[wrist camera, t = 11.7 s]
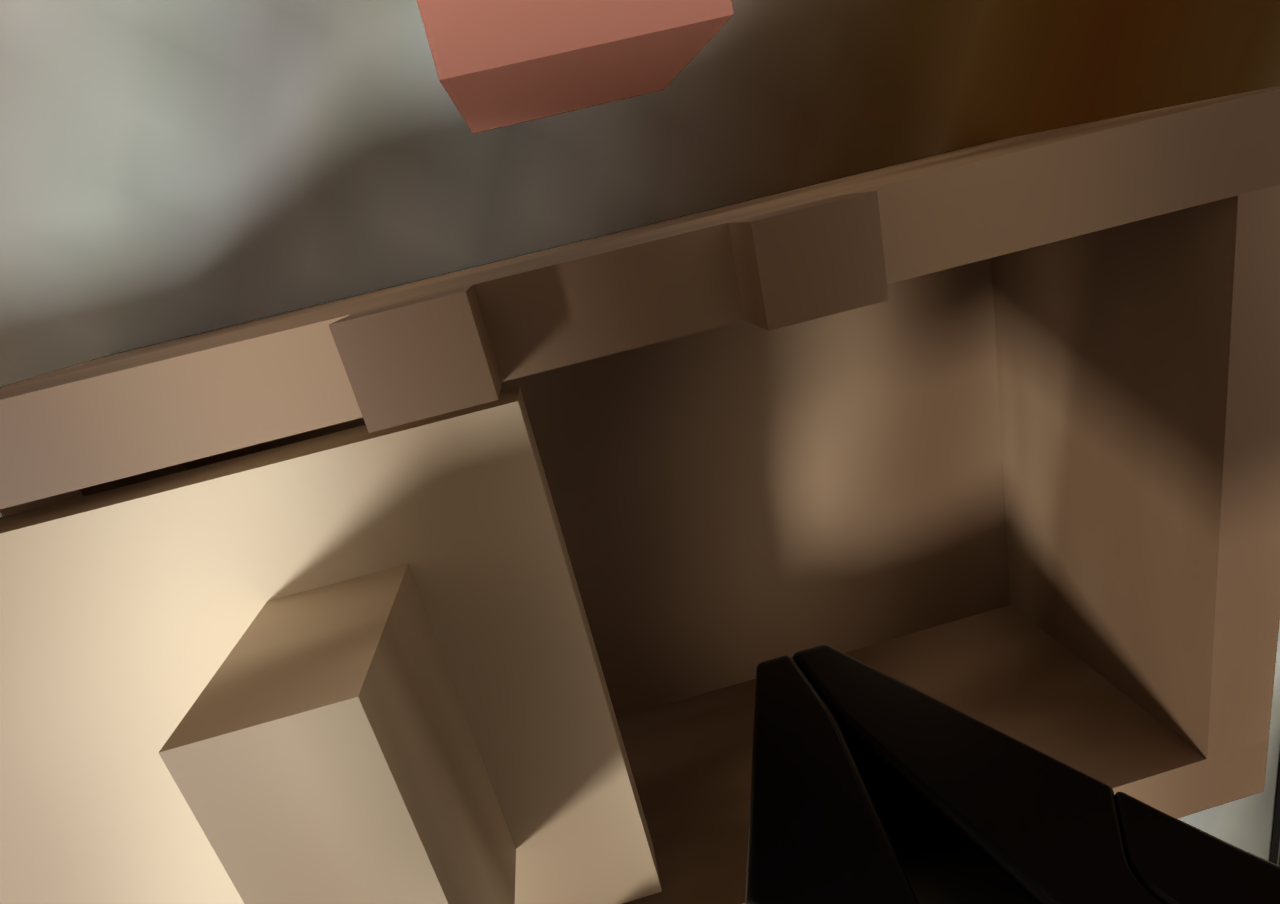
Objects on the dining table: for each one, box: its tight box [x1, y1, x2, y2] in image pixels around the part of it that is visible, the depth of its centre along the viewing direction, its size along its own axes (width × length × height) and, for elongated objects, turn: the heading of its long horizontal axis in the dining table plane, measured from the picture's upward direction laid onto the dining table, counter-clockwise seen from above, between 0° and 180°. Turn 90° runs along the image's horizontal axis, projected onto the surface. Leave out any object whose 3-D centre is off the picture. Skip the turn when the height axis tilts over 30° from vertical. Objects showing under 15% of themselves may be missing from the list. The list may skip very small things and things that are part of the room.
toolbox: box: [0, 86, 1280, 904], centre depth 11 cm, size 16×10×6 cm, turn 103°
